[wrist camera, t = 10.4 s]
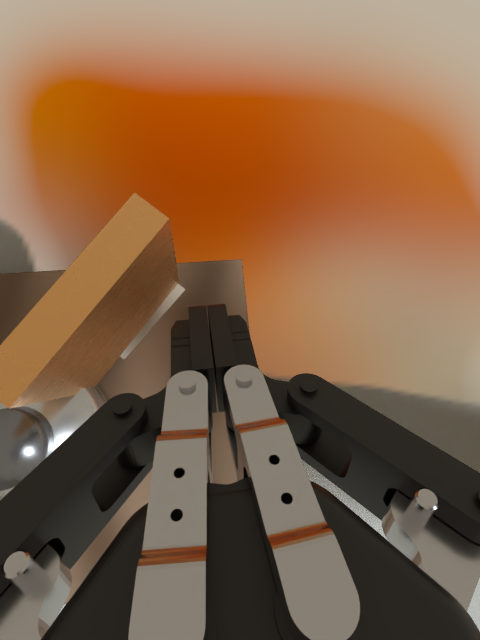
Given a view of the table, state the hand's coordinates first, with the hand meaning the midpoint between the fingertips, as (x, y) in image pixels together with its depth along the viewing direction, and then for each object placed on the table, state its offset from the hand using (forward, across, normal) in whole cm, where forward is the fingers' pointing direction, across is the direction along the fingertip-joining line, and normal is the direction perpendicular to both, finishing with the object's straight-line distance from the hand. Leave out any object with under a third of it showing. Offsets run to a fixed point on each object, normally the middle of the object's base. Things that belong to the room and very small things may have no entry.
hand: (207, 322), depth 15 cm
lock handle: (+5, +7, +8) cm, 12 cm away
